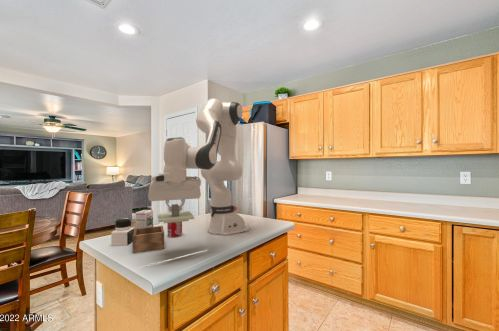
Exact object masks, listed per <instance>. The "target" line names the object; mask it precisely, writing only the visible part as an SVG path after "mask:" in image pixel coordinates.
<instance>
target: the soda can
mask: <svg viewBox="0 0 499 331" xmlns="http://www.w3.org/2000/svg"><path fill="white" fill-rule="evenodd" d="M179 212H182V211H179ZM167 213H172V211H168V212H167ZM166 225H167V237H168V238H171V239H172V238H179V237H181V236H183V222H173V223H166Z"/></svg>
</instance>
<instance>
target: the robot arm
mask: <svg viewBox="0 0 499 331" xmlns="http://www.w3.org/2000/svg"><path fill="white" fill-rule="evenodd" d="M242 117H243V107H242V105H241V104H240V103H239V102H238V101H237V102H235V101H232V102H228V101H224V102H221V100H219V99H218V98H209V99H208V100H206V102H205V103H204V104H203V106H201V108H200V110H199V111H198V113H197V116H196V118H195V122H196V126H197V128H198V129H199V130H200V131H201V132H203V133H204V134H206V135H208V136H207V139H206V143H205V144H203V145H201V146H191V145H190V144H188V143H187V141H186V139H185V137H181V136H179V137H178V136H177V137H169V138H167V139H166V140H165V142H164V146H163V161H164V167H163V172H162V173H159V174H156V175H153V176H152V177H151V181H152V182H151V183H150V185H149V187H148V188H149V189H148V195H147V196H148V197H147V199H148V201H149V202H159V201H161V202H162V201H163V202H164V201H165V204H166V206H167V208H168V209H167V210H168V212H170V211H172V205H171V206H170V204H169V203H170V201H178V200H180V202H181V203H180V205H179V211H181V212H183V206H184V204H185V203H186V200H194V199H195V200H196V199H197V200H198V199H200V197H201V195H202V194H201V193H202V192H201V185H202V180H201V178H200V177H198V176H187V169H191V170H194V169H195V170H200V174H201V177H202V178H203V179H204V180H205V181H206V183H207V184H208V185H207V186H208V187H209V190H210V200H211V202H210V203H211V205H210V224H209V227H208V233H210V234H214V235H222V236H229V235H230V236H231V235H234V234H239V233H244V231H245V232H249V230H250V229H249V226H248V225H246V223H245V220H244V218H243V216H241V215H240V214H238V213H237V212H236V211H237V210H238V207H237V206H236V205H232V192H231V190H230V189H229V188H228V187H227V186H226V185H225V183H224V181H225V182H233V181H237V180H240V178H242V175H243V167H242V165H241V164H240V162H239V161H238V160H237V158H236V153H235V150H236V142H237V140H236V139H237V133H238V132H237V125H238V124H239V122H240V120H241V119H242ZM218 155H219V157H220V160H218Z"/></svg>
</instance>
